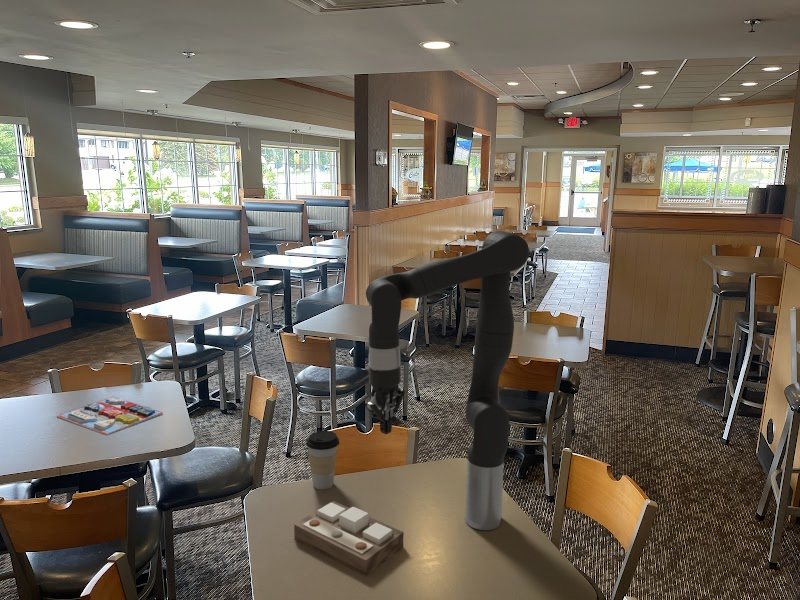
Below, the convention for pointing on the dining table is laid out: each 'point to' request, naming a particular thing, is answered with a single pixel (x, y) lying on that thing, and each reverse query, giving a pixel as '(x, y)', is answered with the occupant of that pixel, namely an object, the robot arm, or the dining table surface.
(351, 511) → the button
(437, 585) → the dining table surface
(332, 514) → the button
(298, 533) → the button panel
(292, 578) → the dining table surface
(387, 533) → the button
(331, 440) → the coffee cup
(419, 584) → the dining table surface
